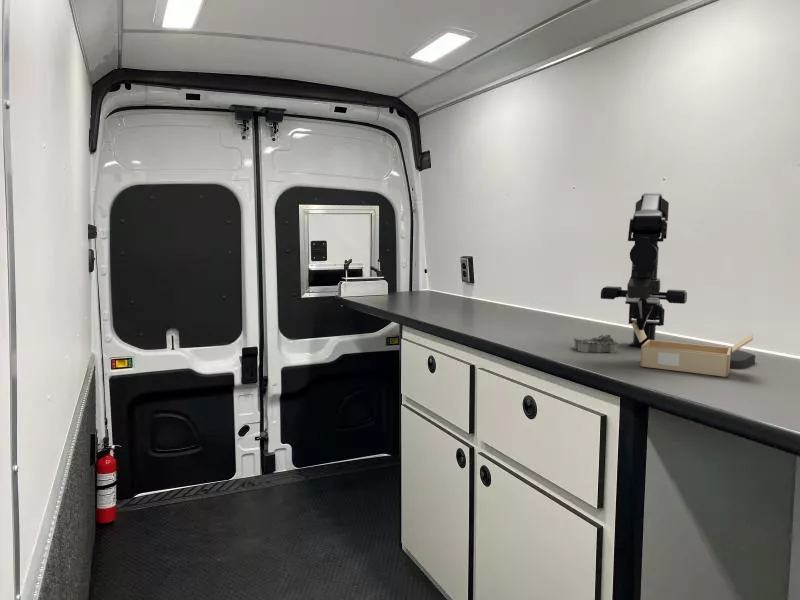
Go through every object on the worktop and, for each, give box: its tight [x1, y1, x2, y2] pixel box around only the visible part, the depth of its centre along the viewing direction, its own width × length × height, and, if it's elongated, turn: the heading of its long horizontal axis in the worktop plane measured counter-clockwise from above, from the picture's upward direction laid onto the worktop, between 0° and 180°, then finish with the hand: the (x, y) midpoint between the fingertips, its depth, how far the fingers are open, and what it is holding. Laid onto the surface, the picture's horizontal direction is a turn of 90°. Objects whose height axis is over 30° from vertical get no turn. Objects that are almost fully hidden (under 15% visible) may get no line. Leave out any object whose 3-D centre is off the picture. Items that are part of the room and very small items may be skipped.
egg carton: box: [573, 334, 619, 354], centre depth 155 cm, size 11×8×4 cm
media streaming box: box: [730, 348, 756, 370], centre depth 143 cm, size 15×15×3 cm
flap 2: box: [731, 333, 754, 352], centre depth 128 cm, size 8×1×5 cm
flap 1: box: [631, 321, 647, 342], centre depth 139 cm, size 8×1×5 cm, turn 148°
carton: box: [639, 339, 732, 378], centre depth 134 cm, size 11×18×5 cm, turn 58°
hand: (641, 330), depth 139 cm, fingers closed
